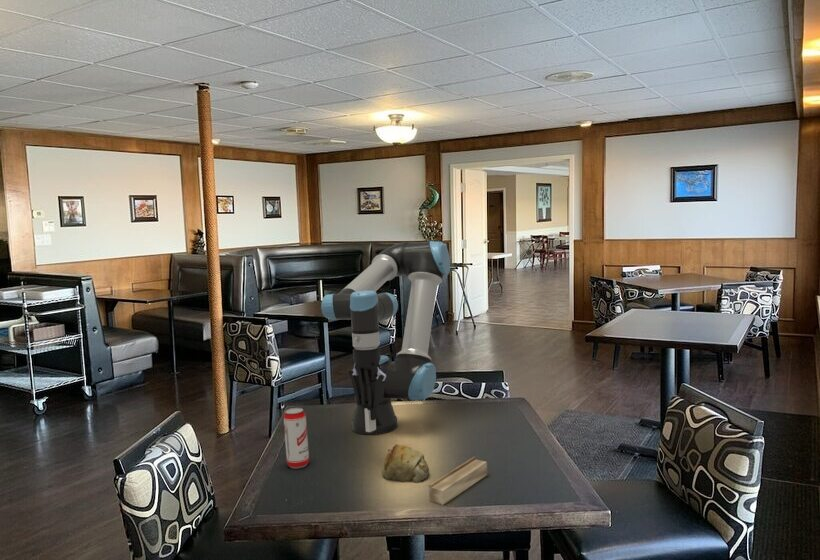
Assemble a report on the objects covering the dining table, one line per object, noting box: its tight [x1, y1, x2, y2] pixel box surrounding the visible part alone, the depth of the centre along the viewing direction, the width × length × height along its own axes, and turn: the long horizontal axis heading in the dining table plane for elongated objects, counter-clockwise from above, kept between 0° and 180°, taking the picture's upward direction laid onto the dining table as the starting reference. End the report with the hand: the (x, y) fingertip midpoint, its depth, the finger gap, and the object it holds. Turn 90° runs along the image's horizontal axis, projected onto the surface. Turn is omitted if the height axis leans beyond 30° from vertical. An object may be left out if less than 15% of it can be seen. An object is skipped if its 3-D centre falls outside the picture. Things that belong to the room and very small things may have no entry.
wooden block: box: [428, 456, 488, 506], centre depth 156 cm, size 4×20×4 cm, turn 142°
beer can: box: [283, 407, 310, 470], centre depth 175 cm, size 6×6×16 cm
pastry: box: [380, 443, 430, 483], centre depth 166 cm, size 14×12×8 cm
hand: (370, 430), depth 173 cm, fingers closed
